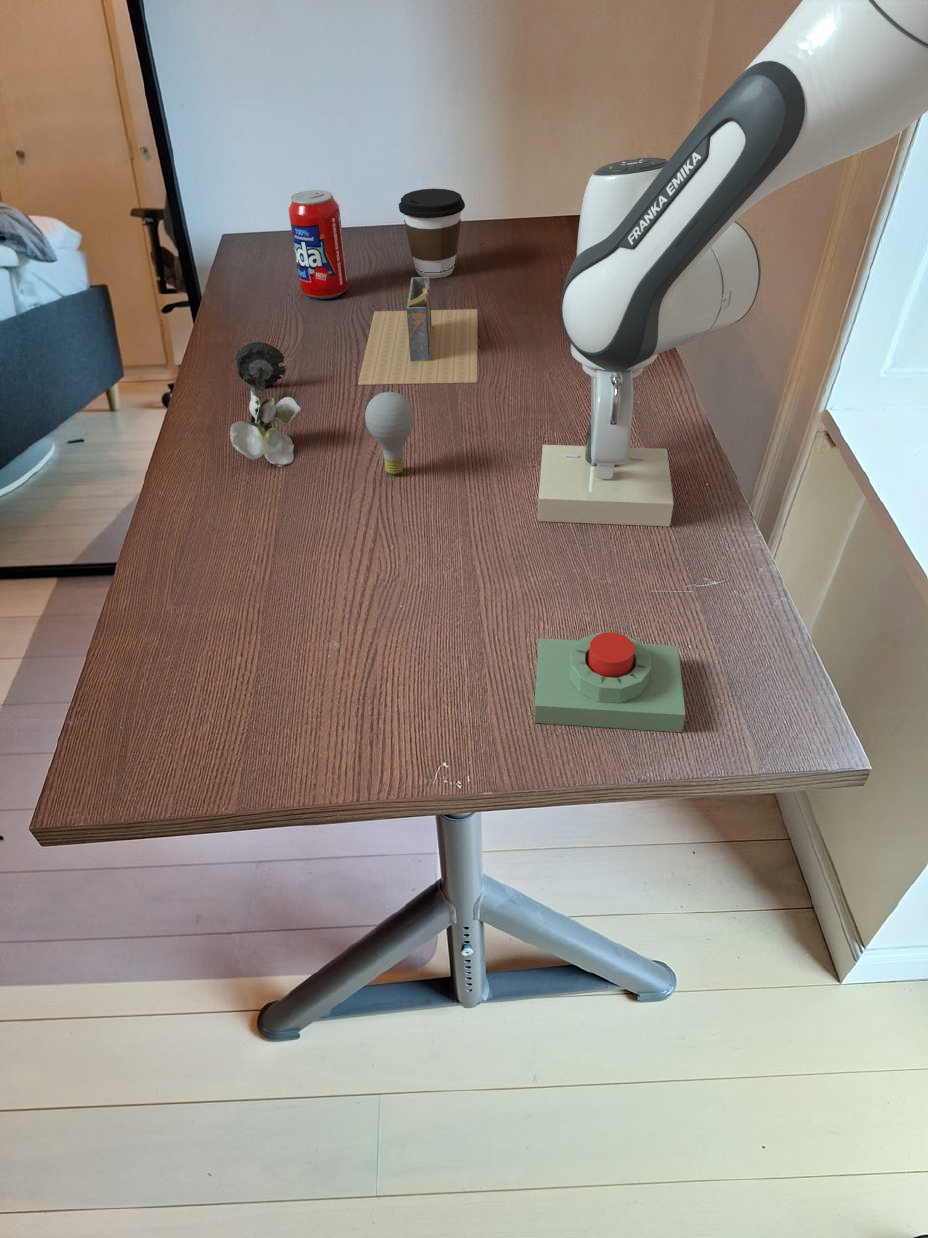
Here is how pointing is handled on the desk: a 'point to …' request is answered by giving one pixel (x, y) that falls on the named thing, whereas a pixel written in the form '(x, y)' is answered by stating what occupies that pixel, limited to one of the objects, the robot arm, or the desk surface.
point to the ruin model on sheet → (421, 343)
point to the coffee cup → (432, 229)
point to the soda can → (318, 244)
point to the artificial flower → (264, 407)
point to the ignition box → (609, 688)
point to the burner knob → (589, 447)
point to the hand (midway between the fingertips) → (603, 455)
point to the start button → (611, 654)
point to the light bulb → (390, 426)
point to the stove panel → (605, 488)
